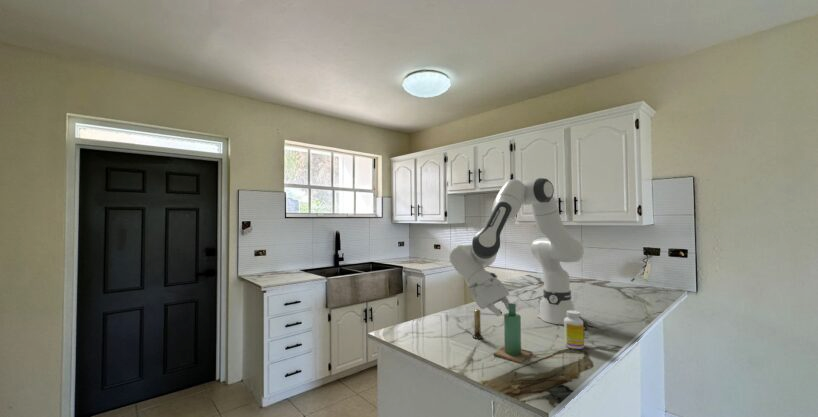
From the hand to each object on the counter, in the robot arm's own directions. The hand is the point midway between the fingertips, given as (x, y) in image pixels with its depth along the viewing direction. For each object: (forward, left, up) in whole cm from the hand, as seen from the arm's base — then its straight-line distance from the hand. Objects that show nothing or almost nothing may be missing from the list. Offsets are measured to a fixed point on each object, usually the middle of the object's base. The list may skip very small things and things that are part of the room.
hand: (505, 312), depth 119 cm
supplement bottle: (-22, +17, -15) cm, 32 cm away
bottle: (0, +2, -14) cm, 14 cm away
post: (-8, -16, -15) cm, 23 cm away
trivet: (0, +2, -15) cm, 15 cm away
